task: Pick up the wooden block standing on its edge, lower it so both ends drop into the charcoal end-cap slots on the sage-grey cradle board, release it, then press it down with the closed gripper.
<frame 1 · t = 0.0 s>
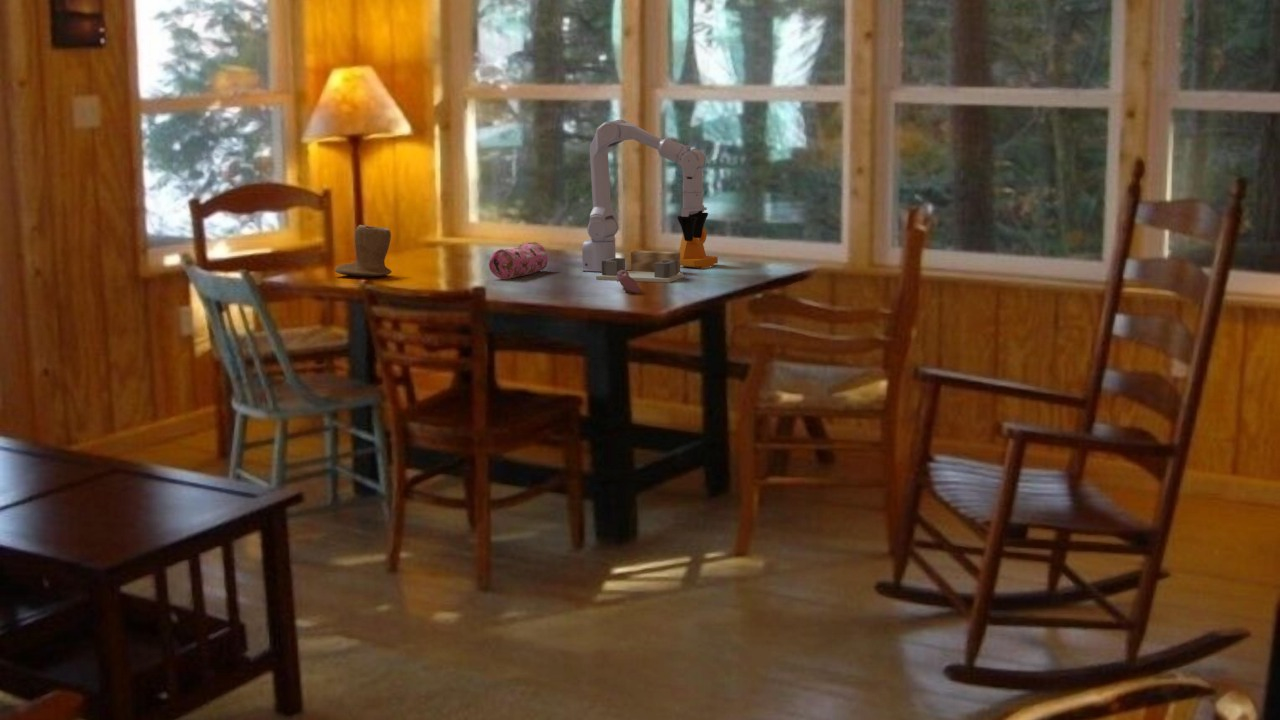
hand: (693, 239, 498), 10 cm above the table, tool pointing down, fingers open, 7 cm apart
top hat: (367, 276, 504), on the table
pink rounded piece: (628, 292, 469), on the table
pencil case: (519, 276, 502), on the table
bracket: (698, 267, 516), on the table
wooden block: (655, 272, 505), on the table
cradle: (639, 278, 493), on the table
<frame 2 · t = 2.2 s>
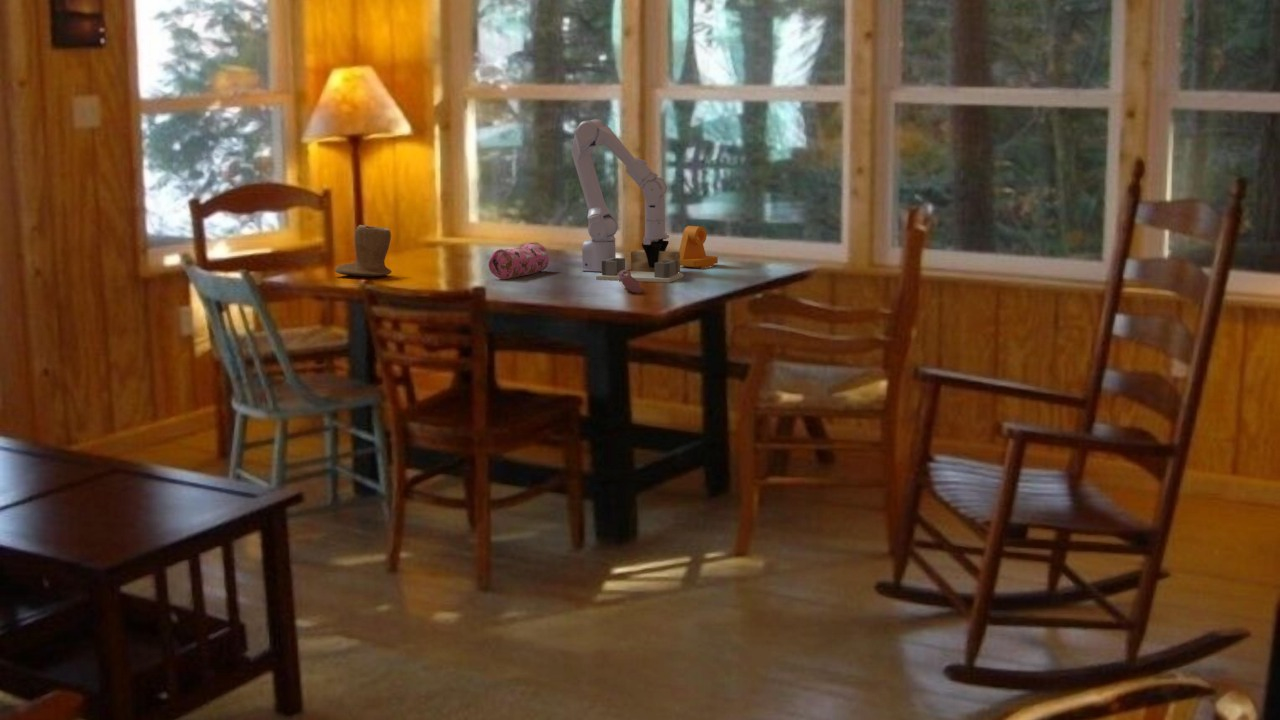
hand: (655, 266, 505), 2 cm above the table, tool pointing down, fingers closed on wooden block, 3 cm apart
wooden block: (655, 272, 505), on the table, touching gripper
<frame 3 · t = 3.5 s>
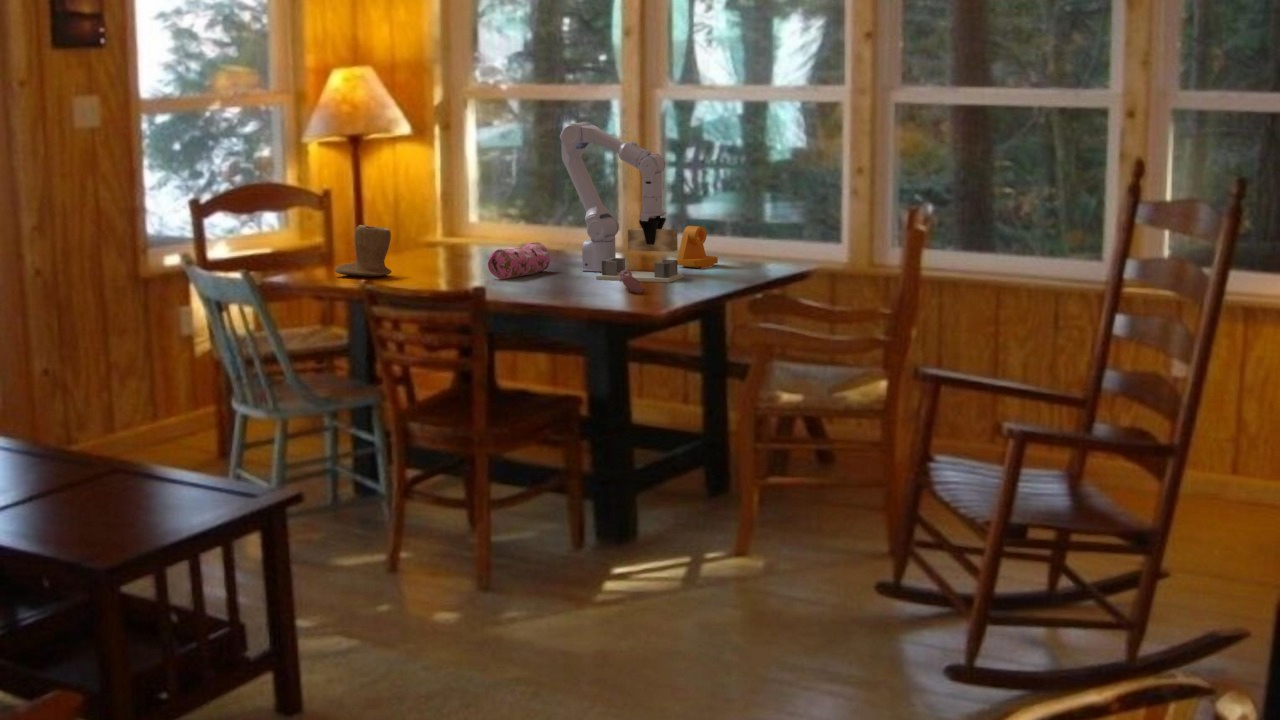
hand: (652, 243, 501), 9 cm above the table, tool pointing down, fingers closed on wooden block, 3 cm apart
wooden block: (652, 250, 502), point 7 cm above the table, touching gripper
everything else where it was.
when the fingers open (4 cm above the table, at t = 5.3 s): wooden block stays where it is, resting on cradle.
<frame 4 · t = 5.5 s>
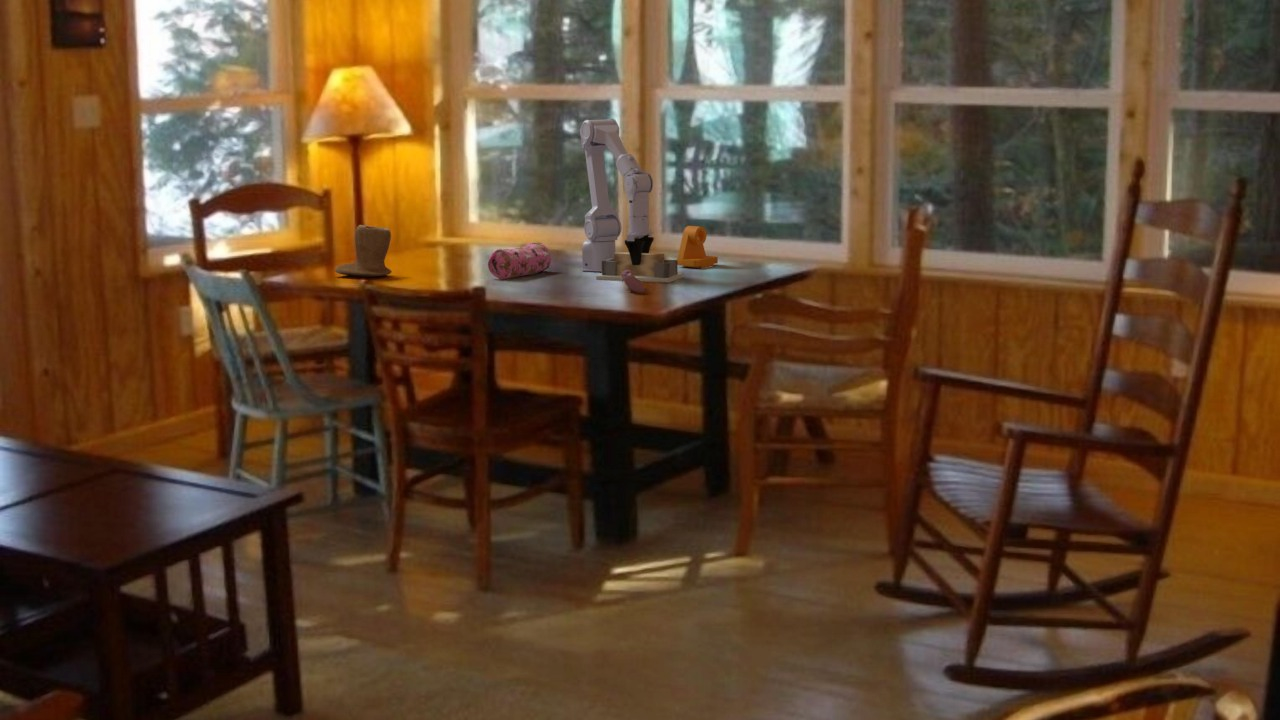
hand: (639, 263, 492), 4 cm above the table, tool pointing down, fingers open, 5 cm apart
wooden block: (639, 274, 493), point 1 cm above the table, touching cradle
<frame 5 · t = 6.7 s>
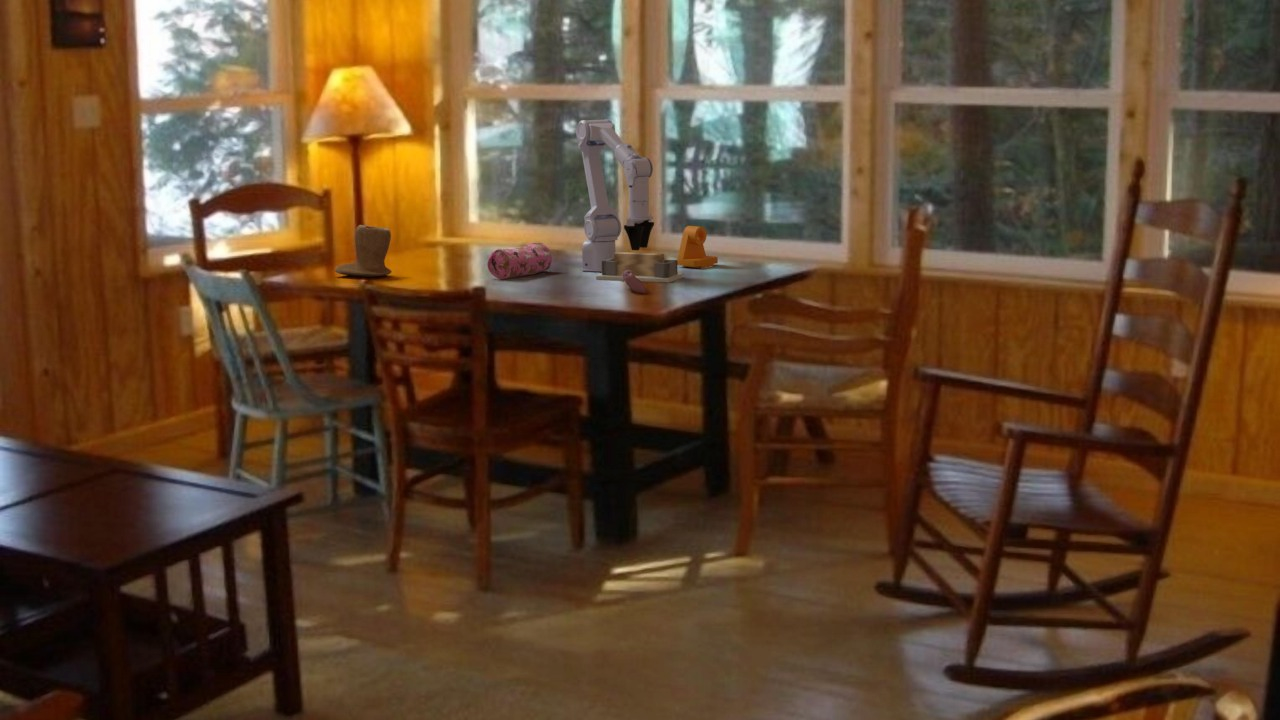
hand: (639, 248, 492), 8 cm above the table, tool pointing down, fingers open, 6 cm apart
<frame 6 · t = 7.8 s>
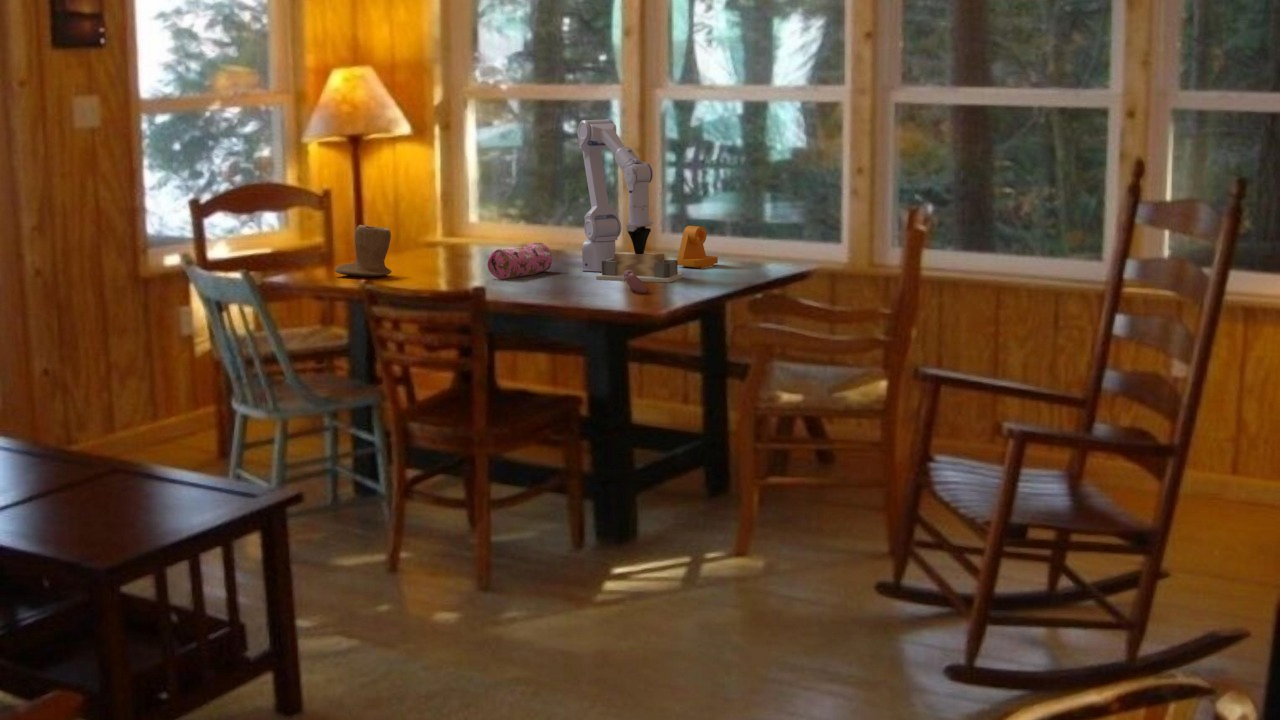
hand: (639, 254, 492), 7 cm above the table, tool pointing down, fingers closed, pressing on wooden block
wooden block: (639, 274, 493), point 1 cm above the table, touching cradle, gripper
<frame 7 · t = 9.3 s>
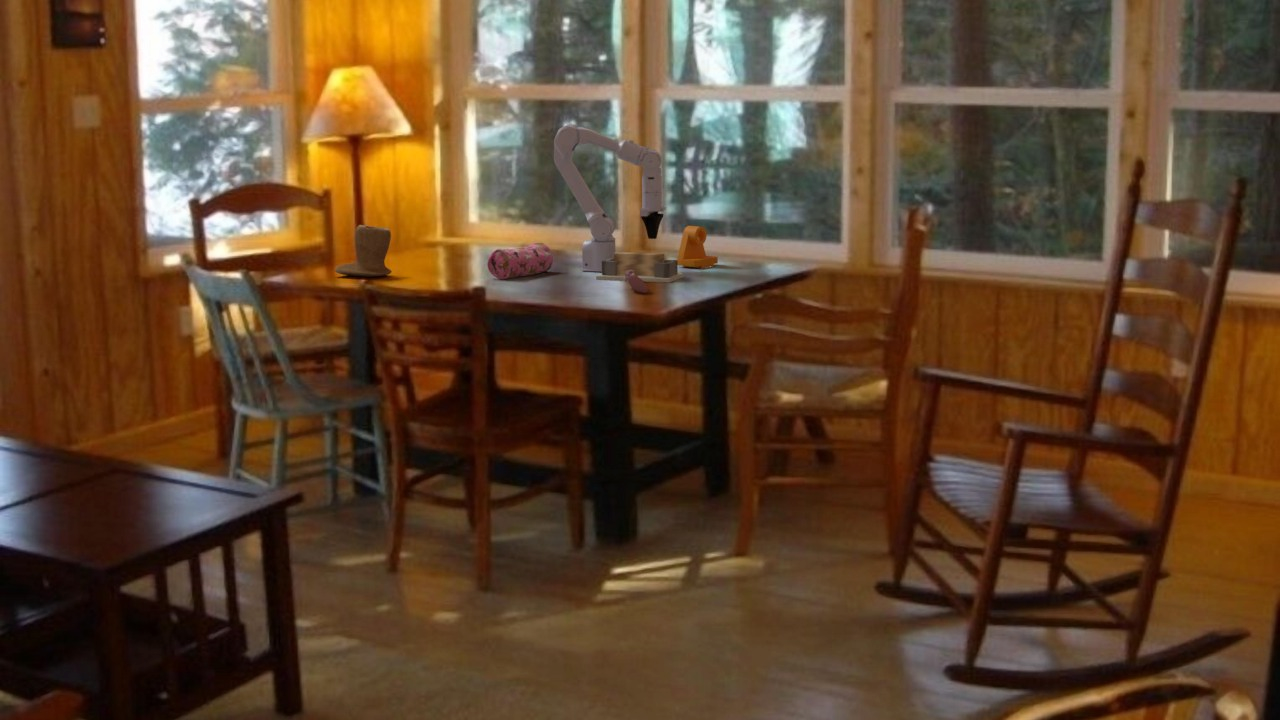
hand: (652, 238, 507), 9 cm above the table, tool pointing down, fingers closed
wooden block: (639, 274, 493), point 1 cm above the table, touching cradle
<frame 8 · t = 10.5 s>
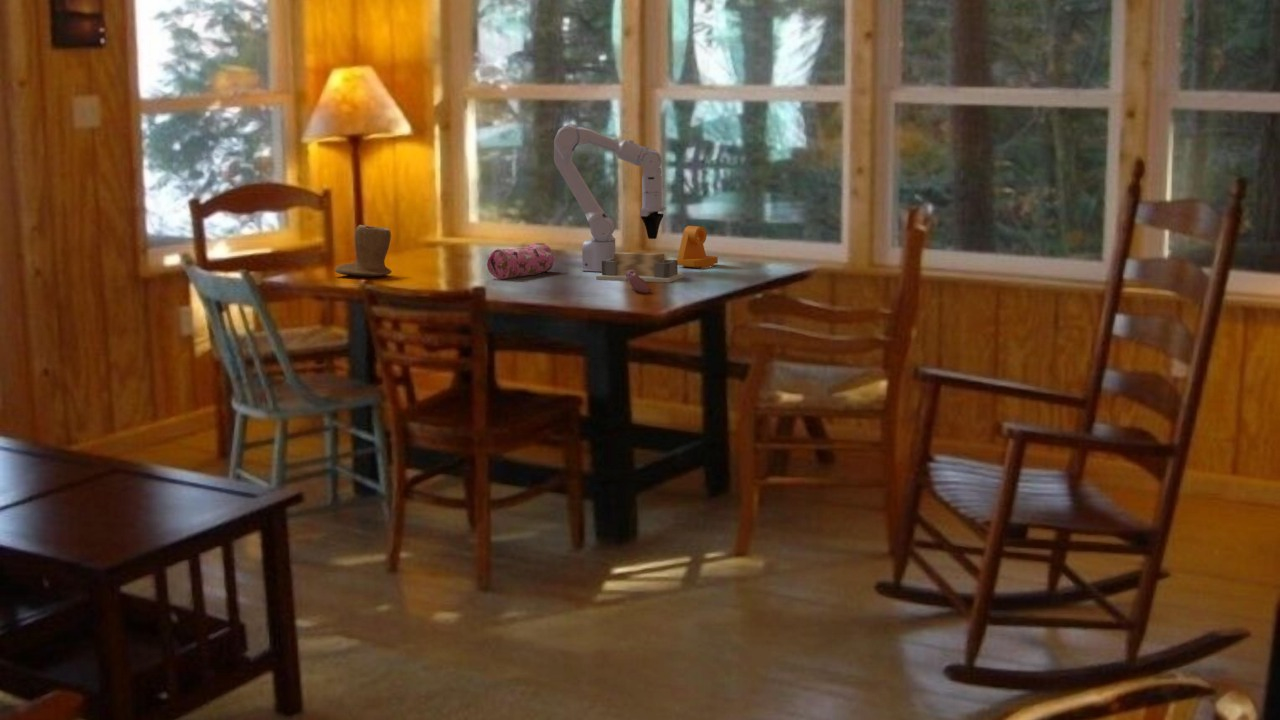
hand: (652, 238, 507), 9 cm above the table, tool pointing down, fingers closed
at the end: wooden block 0.1 cm off-centre on the cradle, point 1.0 cm above the cradle's base; wooden block tilted 0°; the gripper is holding nothing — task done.
